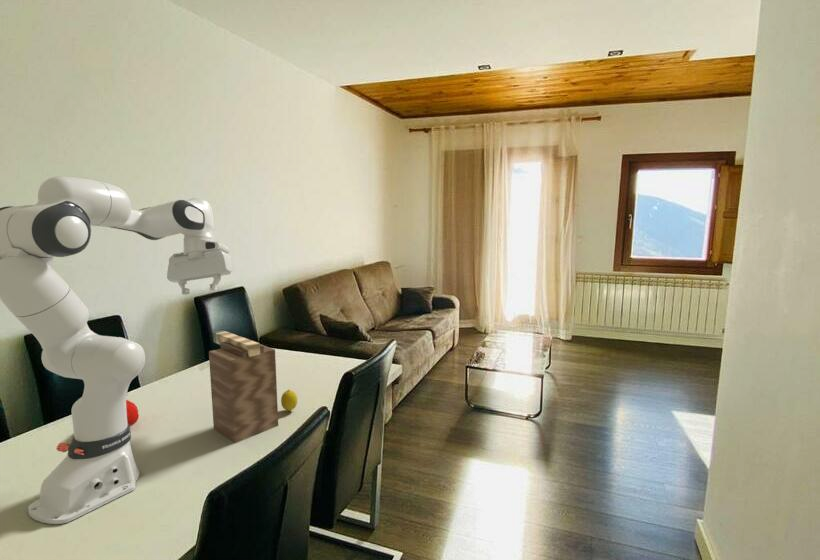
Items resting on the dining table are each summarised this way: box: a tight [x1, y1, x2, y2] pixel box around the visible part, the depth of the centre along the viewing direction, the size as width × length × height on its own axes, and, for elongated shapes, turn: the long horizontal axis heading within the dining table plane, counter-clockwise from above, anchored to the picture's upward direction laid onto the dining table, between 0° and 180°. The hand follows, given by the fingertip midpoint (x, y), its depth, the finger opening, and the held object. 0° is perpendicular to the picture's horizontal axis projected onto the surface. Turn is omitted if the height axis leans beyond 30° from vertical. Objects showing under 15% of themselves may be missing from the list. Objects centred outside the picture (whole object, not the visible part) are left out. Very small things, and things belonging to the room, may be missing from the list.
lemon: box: [280, 389, 298, 412], centre depth 151 cm, size 6×6×8 cm
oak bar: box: [212, 330, 260, 357], centre depth 139 cm, size 24×4×4 cm, turn 49°
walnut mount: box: [208, 342, 279, 444], centre depth 138 cm, size 15×14×28 cm
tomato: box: [126, 399, 140, 427], centre depth 137 cm, size 14×13×9 cm
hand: (199, 292), depth 133 cm, fingers open, 8 cm apart
